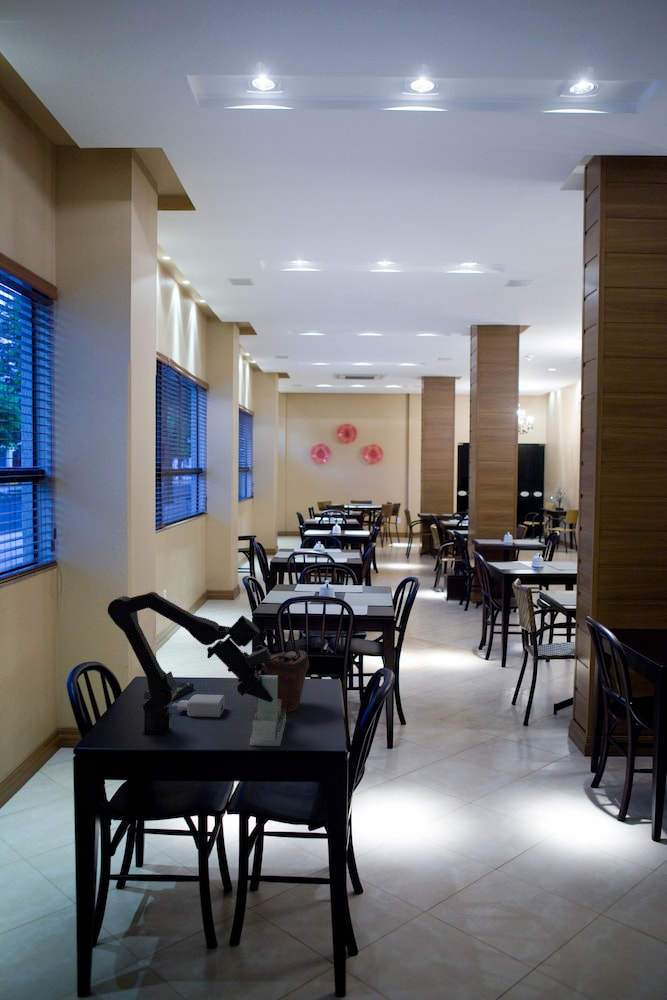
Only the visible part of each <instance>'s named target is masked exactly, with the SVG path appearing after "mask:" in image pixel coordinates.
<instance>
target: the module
mask: <svg viewBox="0 0 667 1000" xmlns="http://www.w3.org/2000/svg"><path fill="white" fill-rule="evenodd" d="M261 676H262V684H263V685H264V687H265V688H266V690H267V691H268V692H269V694H270V695H271V697H272V698H273V701H272V702H268V701H265V700H263V699H260V698H258V705H257V713H277V690H278V675H260V676H259V677H261Z"/></svg>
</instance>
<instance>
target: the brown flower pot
mask: <svg viewBox="0 0 667 1000" xmlns="http://www.w3.org/2000/svg"><path fill="white" fill-rule="evenodd" d="M253 652H254V651H251V653H250V654H252V653H253ZM270 654H271V657H272V658H271V660H270V661H268V662H264V664H265V667H264V668H261V669H260V671H261V672H262V671H263V670H264V669H265V675H278V690H277V699H282V703H281V713H282V712H283V709H286V713H288V712H294V711H296V710H297V709H299V708H300V706H301V705H300V704H301V699H302V694H303V690H304V685H305V681H306V675H307V671H308V670H309V668H310V660H309V655H308V653H307V652H306V651H305V650H302V649H296V648H291V649H288V650H287V651H284V652H283V651H282V652H278V653H270ZM255 698H256V699H255V700H256V705H257V706H258V698H257V697H255Z"/></svg>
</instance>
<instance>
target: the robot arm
mask: <svg viewBox="0 0 667 1000" xmlns="http://www.w3.org/2000/svg"><path fill="white" fill-rule="evenodd" d="M145 609H150V610H152V611H154V612H156V613H157V614H159V615H161V616H163V617H164V618H166V619H168V620H170V621H171V622H173V623H175V624H176V625H178V626H180V627H182V628H183V629H185V630H186V631H187V632H188V633H189V634H190V635H191V636H192V637H193V638H194V639H195V640H196V641H197V642H199V643H200V644H201V645H204V646H209V647H207V649H206V650H207V658H208V659H210V658H212V657H213V656H214V655H215V656H216V657H217V658H218V659H219V661H221V662H222V664H224V665H225V666H226V667H227V672H229V673H232V674H233V675H234V676H235V677H236V678H237V679H238V680H237V682H238V684H237V686H236V687H237V692H238V694H240V695H241V696H242V697H243V696H244V695H250V696H253V697H254V698H256V697H257V698H260V699H263V700H265V701H268V702H272V701H273V698H272V697H271V695H270V694H269V692H268V691H267V690H266V688H265V687H264V685H263V684H262V676H261V677H259V676H260V675H265V669H264V670H263V671H262V672H261V671H260V669H261V668H264V667H265V664H264V662H268V661H270V660H271V658H272V657H271V654H272V653H271V652H270V648H268V647H267V646H264V645H262V644H260V645H257V646H256V648H255V651H252V652H253V653H252V652H251V653H252V654H251V653H250V654H249V653H248V652H247V651H242V650H241V649H240V648H241V647H246V646H248V645H249V644H250V643H251V641H253V640H254V639H255V638H256V637H257V636H258V635H260V633H261V632H260V630H259V628H258V626H257V625H256V624H255V623H254V622H253V621H251V620H250V619H248V618H247V617H246V616H244V615H241V616H240V617H239V618H238V619H237V620H236V622H235V623H234V624H233V625H231V626H227V625H220V624H219V623H218V622H216V621H214V620H211V619H209V618H207V617H202V616H198V615H195V614H192V613H191V612H189V611H188V610H186V609H183V608H182V607H180V606H178V605H177V604H175V603H173V602H171V601H170V600H168V599H166V598H165V597H162V596H161V595H159V594H158V593H157V592H155V591H150V592H148V593H144V594H140V595H135V596H132V597H129V596H125V595H122V596H119V597H118V598H115V599H113V600H111V601H110V603H109V605H108V606H107V614H108V616H109V617H110V619H111V620H112V621H113V622H114V624H115V625H116V626H117V627H118V628H119V629H120V630H121V631H122V632H123V633H124V635H125V637H126V639H127V641H128V642H129V645H130V646H131V649H132V650H133V653H134V654H135V657H136V659H137V660H138V662H139V664H140V666H141V668H142V670H143V674H145V677H146V679H147V680H146V681H147V688H148V689H149V693H150V696H151V697H150V698H147V700H146V702H145V703H143V705H142V708H143V712H144V714H143V716H144V717H143V718H144V720H143V731H142V734H143V735H167V734H168V732H169V731H170V730H171V728H172V713H171V712H170V706H169V704H170V703H171V702H172V699H173V698H174V697H175V695H176V693H177V687H176V685H177V684H178V683H177V682H178V681H176V680H175V679H174V675H173V673H172V671H169V672H166V671H164V670H163V669H162V667H161V665H160V664H159V660H158V659H157V658H156V655H155V653H154V652H153V649H152V647H151V645H150V643H149V641H148V639H147V638H146V635H145V634H144V631H143V630H142V628H141V625H140V624H139V623H140V622H139V615H138V611H141V610H145ZM228 635H229V636H228ZM226 637H227V638H226ZM225 638H226V639H225ZM216 641H218V642H216ZM215 642H216V643H215ZM213 644H214V645H213ZM210 645H213V646H210ZM239 647H240V648H239ZM148 689H147V690H148Z"/></svg>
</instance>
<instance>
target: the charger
mask: <svg viewBox="0 0 667 1000" xmlns="http://www.w3.org/2000/svg"><path fill="white" fill-rule="evenodd" d="M225 697H226V695H224V694H197V693H195V694H194V695H192V696H191V697H190V698H189V699H185V700H184V699H181V700H180V701H178V702H173V704H171V707H177V710H178V711H186V714H187V716H189V717H198V718H201V717H202V718H220V717H221V716H222V714H223V712H224V710H225V707H226V705H225V704H226V699H225Z"/></svg>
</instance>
